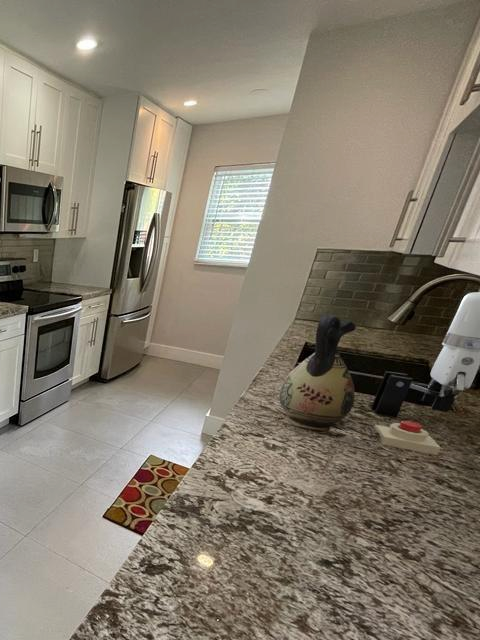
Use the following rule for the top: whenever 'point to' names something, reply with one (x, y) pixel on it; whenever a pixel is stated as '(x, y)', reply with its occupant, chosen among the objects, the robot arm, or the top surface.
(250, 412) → the top surface
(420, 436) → the control block
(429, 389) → the lever
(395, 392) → the bracket
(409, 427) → the button
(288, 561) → the top surface
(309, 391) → the ceramic jug
